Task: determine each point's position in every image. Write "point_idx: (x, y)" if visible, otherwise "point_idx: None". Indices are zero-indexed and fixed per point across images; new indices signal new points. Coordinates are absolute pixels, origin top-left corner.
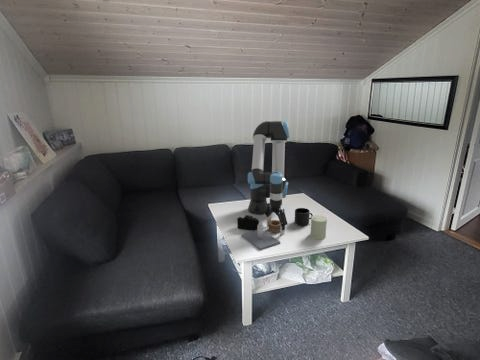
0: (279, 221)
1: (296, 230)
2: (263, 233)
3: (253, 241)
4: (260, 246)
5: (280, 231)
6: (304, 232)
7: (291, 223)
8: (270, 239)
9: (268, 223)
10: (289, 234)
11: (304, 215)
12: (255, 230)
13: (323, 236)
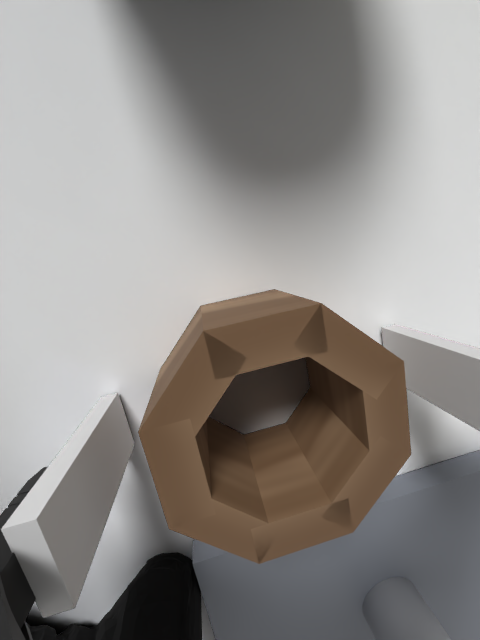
0: (260, 345)
1: (376, 110)
2: (322, 557)
3: None
4: None
5: (424, 393)
6: (471, 35)
7: (131, 26)
8: (462, 523)
9: (260, 563)
10: (421, 266)
11: None
12: (221, 620)
13: None
